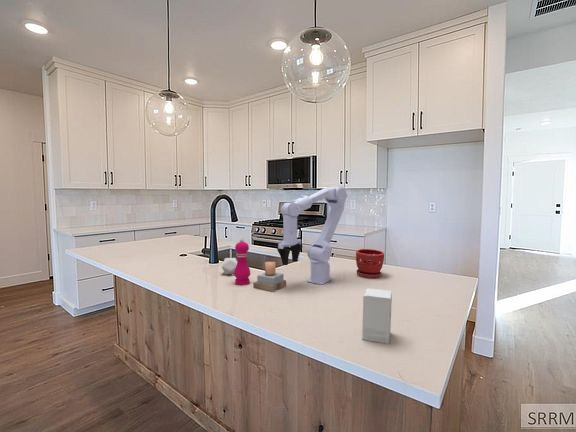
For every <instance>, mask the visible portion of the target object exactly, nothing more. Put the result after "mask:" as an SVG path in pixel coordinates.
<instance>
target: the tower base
mask: <svg viewBox="0 0 576 432" xmlns="http://www.w3.org/2000/svg"><path fill="white" fill-rule="evenodd" d="M285 287H287V280H284V281H282V282H280V283H278V284H276V285H273V286H272V285H267V284H262V283H257V280H256V281H253V289H255V290H261V291H266V292H270V293H274V292H276V291H279V290H281V289H283V288H285Z"/></svg>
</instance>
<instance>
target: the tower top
mask: <svg viewBox="0 0 576 432" xmlns="http://www.w3.org/2000/svg"><path fill="white" fill-rule="evenodd" d="M284 276H285V275H284V273H280V272H275V274H274V275H266V274H265V272H263V273H260V274H257V278H256V281H257V283H262V284H267V285H272V286H273V285H276V284H278V283H280V282H282V281H284V278H285V277H284Z"/></svg>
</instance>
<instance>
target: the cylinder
mask: <svg viewBox="0 0 576 432" xmlns="http://www.w3.org/2000/svg"><path fill="white" fill-rule="evenodd" d="M264 273H265V274H266V275H274V274H275V273H276V261H265V262H264Z"/></svg>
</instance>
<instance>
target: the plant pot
mask: <svg viewBox="0 0 576 432" xmlns="http://www.w3.org/2000/svg"><path fill="white" fill-rule="evenodd" d="M355 262H356V263H355V264H356V267H357V269H356V274H357V275H358V276H359V277H363V278H366V279H367V278H369V279H375V278H379V277H380V276H382V271H381V270H382V268H383V265H384V262H385V252H384V251H382V250H378V249H371V248H360V249H357V250H356V252H355Z"/></svg>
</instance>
